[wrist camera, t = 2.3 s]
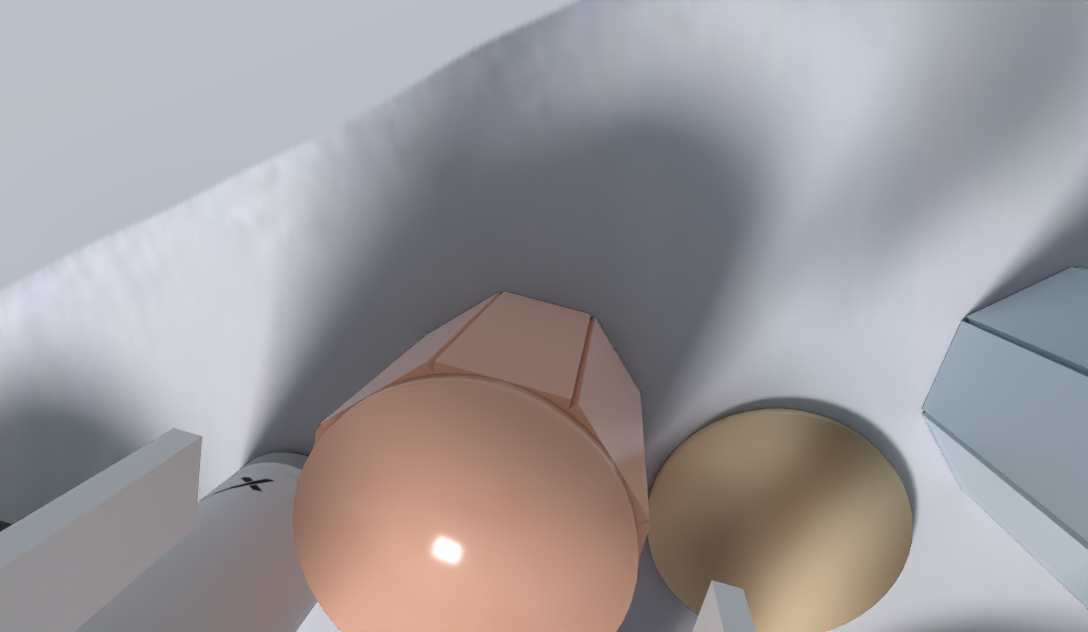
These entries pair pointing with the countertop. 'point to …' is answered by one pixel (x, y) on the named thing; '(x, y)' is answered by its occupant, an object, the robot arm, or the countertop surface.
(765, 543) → the coaster
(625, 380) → the peach domed octagonal part
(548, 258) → the countertop surface
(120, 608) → the travel mug
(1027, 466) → the grey domed faceted canister
